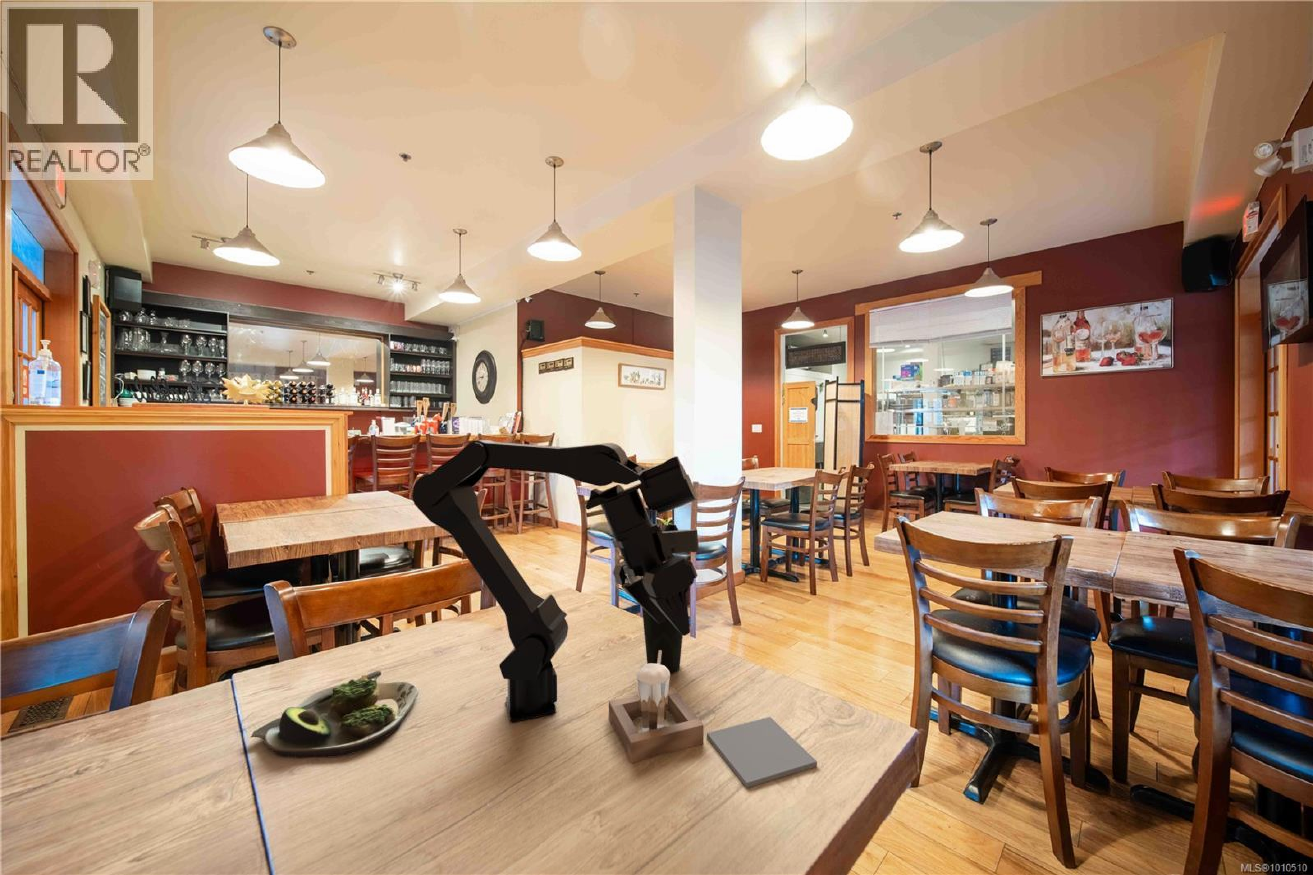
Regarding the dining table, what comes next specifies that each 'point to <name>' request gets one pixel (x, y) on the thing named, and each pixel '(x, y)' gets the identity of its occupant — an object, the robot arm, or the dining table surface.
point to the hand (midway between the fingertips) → (673, 627)
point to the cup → (662, 642)
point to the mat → (760, 751)
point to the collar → (656, 740)
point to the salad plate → (339, 719)
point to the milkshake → (653, 694)
